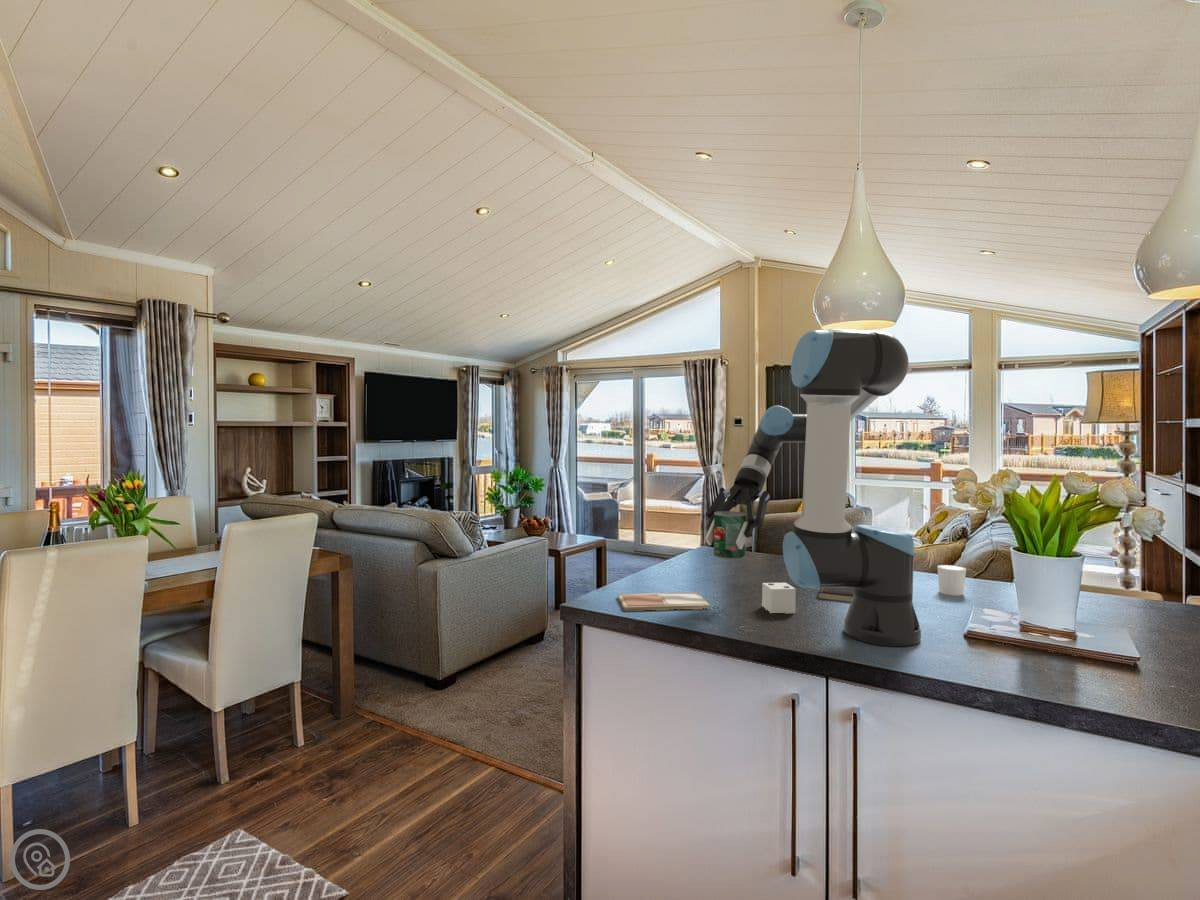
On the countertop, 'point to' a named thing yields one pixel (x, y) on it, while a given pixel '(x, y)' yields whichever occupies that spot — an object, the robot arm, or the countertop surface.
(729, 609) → the countertop surface
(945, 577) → the white short cylinder
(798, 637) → the countertop surface
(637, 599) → the game board
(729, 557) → the canned tomato
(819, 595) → the hardcover book
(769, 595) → the die
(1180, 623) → the countertop surface
